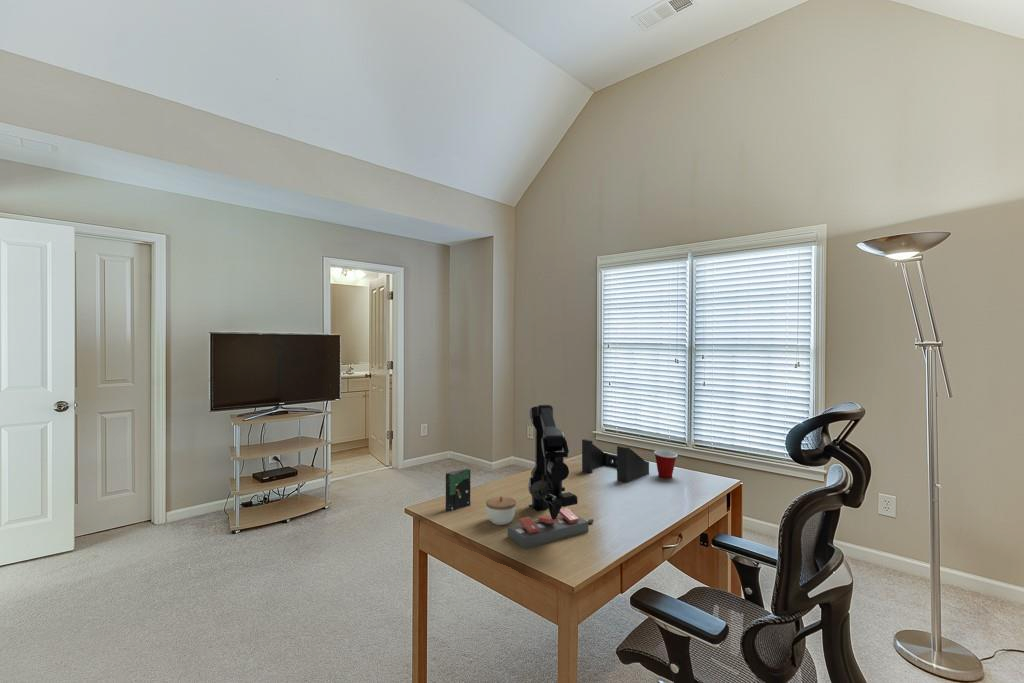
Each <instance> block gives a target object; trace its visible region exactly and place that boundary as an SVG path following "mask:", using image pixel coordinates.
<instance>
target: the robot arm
mask: <svg viewBox="0 0 1024 683" xmlns="http://www.w3.org/2000/svg"><path fill="white" fill-rule="evenodd" d="M529 419H530V421H531V424H532V426H533V427H534V467H533V468H532V470H531V471H530V477H529V480H528V485H527V489H528V492H529V494H530V495H531V504H528V507H529V508H531V509H533V510H534V511H536V512H539V511H545V510H548V512H549V516H551V518H552V519H553V520H555V519H556V518H557V516H558V515H560V514H559V511H560V509H562V508H567V507H569V506H573V505H578V503H579V502H578V498H579V497H578V496H577V495H576V494H574V493H571V492H569V491H568V492H565V491H566V487H564V486H563V481H564V480H566V479H568V476H569V473H570V469H569V467H568V465H567V463H566V462H565V461H564V458H568V457H569V455H568V454H569V452H570V450H569V446H568V441H567V439H566V437H564V434H563V432H562V430H560V429H558V428H557V426H556V421H555V418H554V407H552V405H551V404H539V405H537V406H532V407H531V408H530V409H529Z"/></svg>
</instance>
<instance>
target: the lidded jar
mask: <svg viewBox="0 0 1024 683" xmlns="http://www.w3.org/2000/svg"><path fill="white" fill-rule="evenodd" d="M516 505H517V500H516V499H514V498H513V497H509V496H494V497H493V496H492V497H490V498H487V500H486V502H485V506H486V508H485V509H486V510H485V511H486V515H487V518H488V519H489V521H490V522H491V524H494V525H496V526H505V525H508V524H510V523H511V522H512V521H513V519H514V517H515V515H516V514H515V513H516Z"/></svg>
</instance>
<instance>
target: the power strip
mask: <svg viewBox="0 0 1024 683" xmlns="http://www.w3.org/2000/svg"><path fill="white" fill-rule="evenodd" d="M575 515H576V516H577V517H578V518H579V521H578V522H574V523H569V522H568V521H567V520H566V519H564V518H563V517H562V516H561V515H560V514H558V516H557V518H558V520H559V522H554V523H550V524H549V523H545V522H541V521H538V519H536V520H532V521H533V522H534V523H535V524H536V525H537V526H538V527H539V528H540V530H539V531H538V532H534V533H529V532H528V531H527V530H526V529H525V528H524V527H523V526H522V525H521V524H520V523H519V524H515V525H511V526H508V527H507V537H508V538H509V539H510V540H512V541H513V542H514V543H515V544H516V545H518V546H519V547H521V548H522V549H524V550H525V549H528V548H531V547H535V546H540V545H543V544H546V543H550V542H555V541H558V540H561V539H566V538H568V537H573V536H577V535H581V534H583V533H588V532H589V524H592V523H594V519H593V518H590V519H584V518H583V517H581V516H579V515H577V514H575Z"/></svg>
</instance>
